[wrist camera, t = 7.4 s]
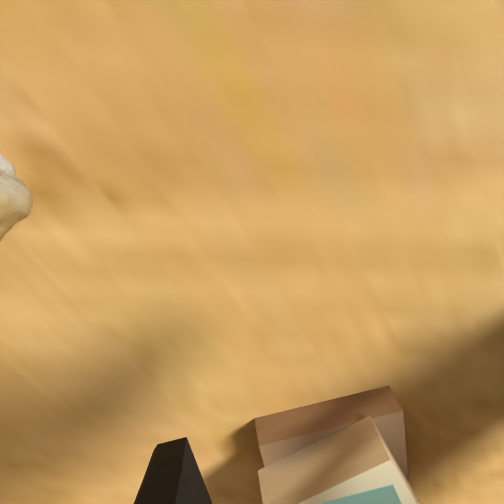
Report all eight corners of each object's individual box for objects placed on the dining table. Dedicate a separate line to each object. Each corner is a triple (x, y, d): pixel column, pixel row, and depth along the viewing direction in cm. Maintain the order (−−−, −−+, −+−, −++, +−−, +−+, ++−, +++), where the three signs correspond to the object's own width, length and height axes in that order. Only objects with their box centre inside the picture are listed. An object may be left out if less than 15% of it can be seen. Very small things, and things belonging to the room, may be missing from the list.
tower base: (383, 376, 24) (403, 410, 22) (392, 467, 27) (410, 506, 25) (252, 407, 24) (258, 446, 21) (275, 496, 27) (283, 538, 24)
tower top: (369, 415, 21) (390, 459, 19) (412, 487, 24) (434, 533, 22) (257, 470, 22) (265, 519, 20) (310, 534, 25) (322, 584, 22)
